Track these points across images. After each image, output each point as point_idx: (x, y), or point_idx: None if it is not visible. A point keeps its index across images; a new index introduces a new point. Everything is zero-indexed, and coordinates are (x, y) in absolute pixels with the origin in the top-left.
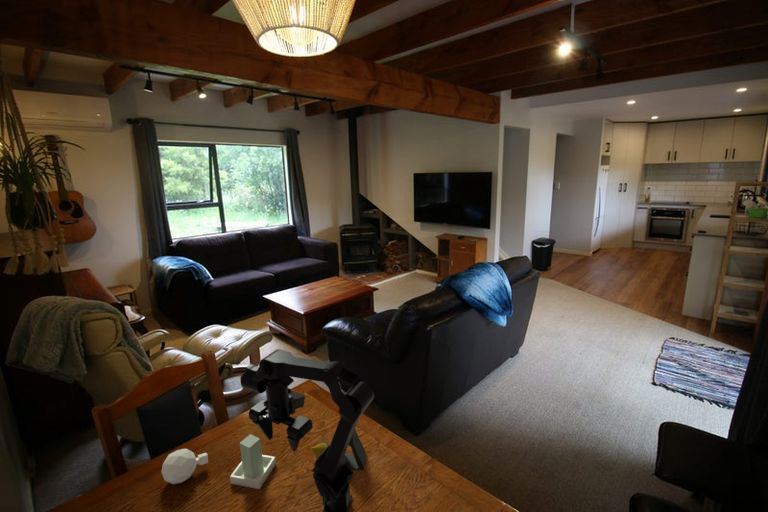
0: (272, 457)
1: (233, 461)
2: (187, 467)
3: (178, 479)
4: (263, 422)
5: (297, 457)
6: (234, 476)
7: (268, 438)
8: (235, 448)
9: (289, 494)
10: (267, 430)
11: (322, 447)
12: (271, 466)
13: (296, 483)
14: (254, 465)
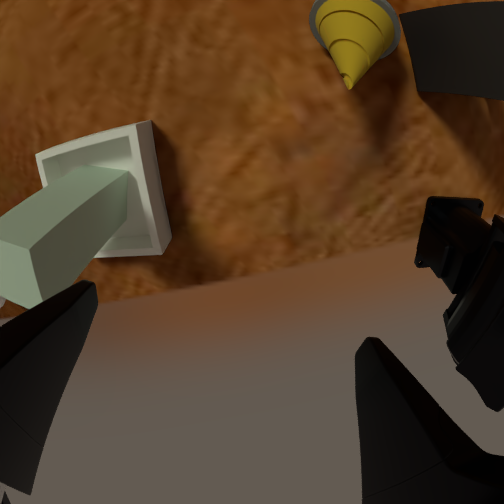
0: (126, 131)
1: (28, 174)
2: None
3: (5, 298)
4: (13, 471)
5: (223, 55)
6: None
7: (87, 327)
8: (3, 133)
9: (289, 228)
10: (49, 386)
11: (381, 37)
12: (149, 158)
13: (292, 180)
14: (101, 232)
